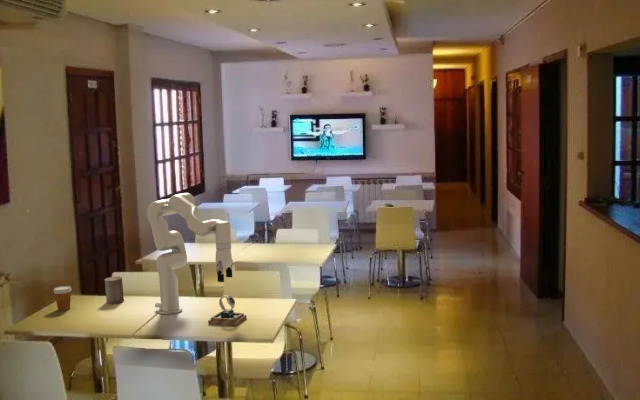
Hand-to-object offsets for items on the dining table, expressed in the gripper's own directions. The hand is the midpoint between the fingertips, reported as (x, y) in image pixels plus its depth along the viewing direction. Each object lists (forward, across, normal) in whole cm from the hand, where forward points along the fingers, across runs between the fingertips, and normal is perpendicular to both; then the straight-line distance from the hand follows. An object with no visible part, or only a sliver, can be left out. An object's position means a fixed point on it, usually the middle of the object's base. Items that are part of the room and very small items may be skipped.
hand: (225, 279), depth 369 cm
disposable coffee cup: (+23, -5, -101) cm, 103 cm away
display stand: (+22, 0, 0) cm, 22 cm away
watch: (+20, 0, 0) cm, 20 cm away
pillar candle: (+23, -24, -81) cm, 87 cm away
